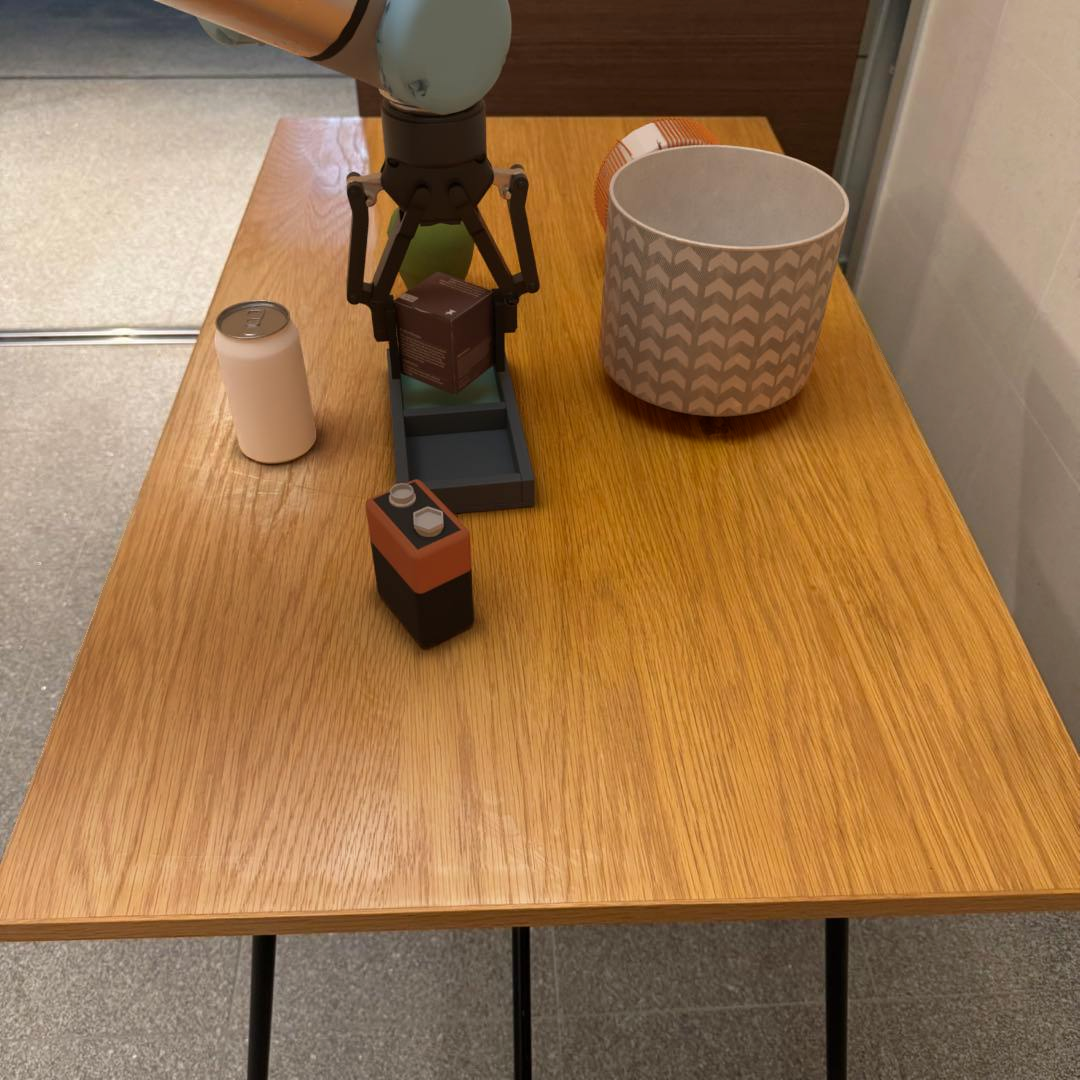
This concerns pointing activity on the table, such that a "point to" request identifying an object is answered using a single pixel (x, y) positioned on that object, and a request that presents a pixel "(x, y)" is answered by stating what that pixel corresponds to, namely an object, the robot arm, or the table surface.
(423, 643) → the battery
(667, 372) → the planter
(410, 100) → the robot arm
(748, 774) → the table surface
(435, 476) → the holder
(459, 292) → the box
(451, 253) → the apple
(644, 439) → the table surface
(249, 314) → the can
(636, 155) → the coil
